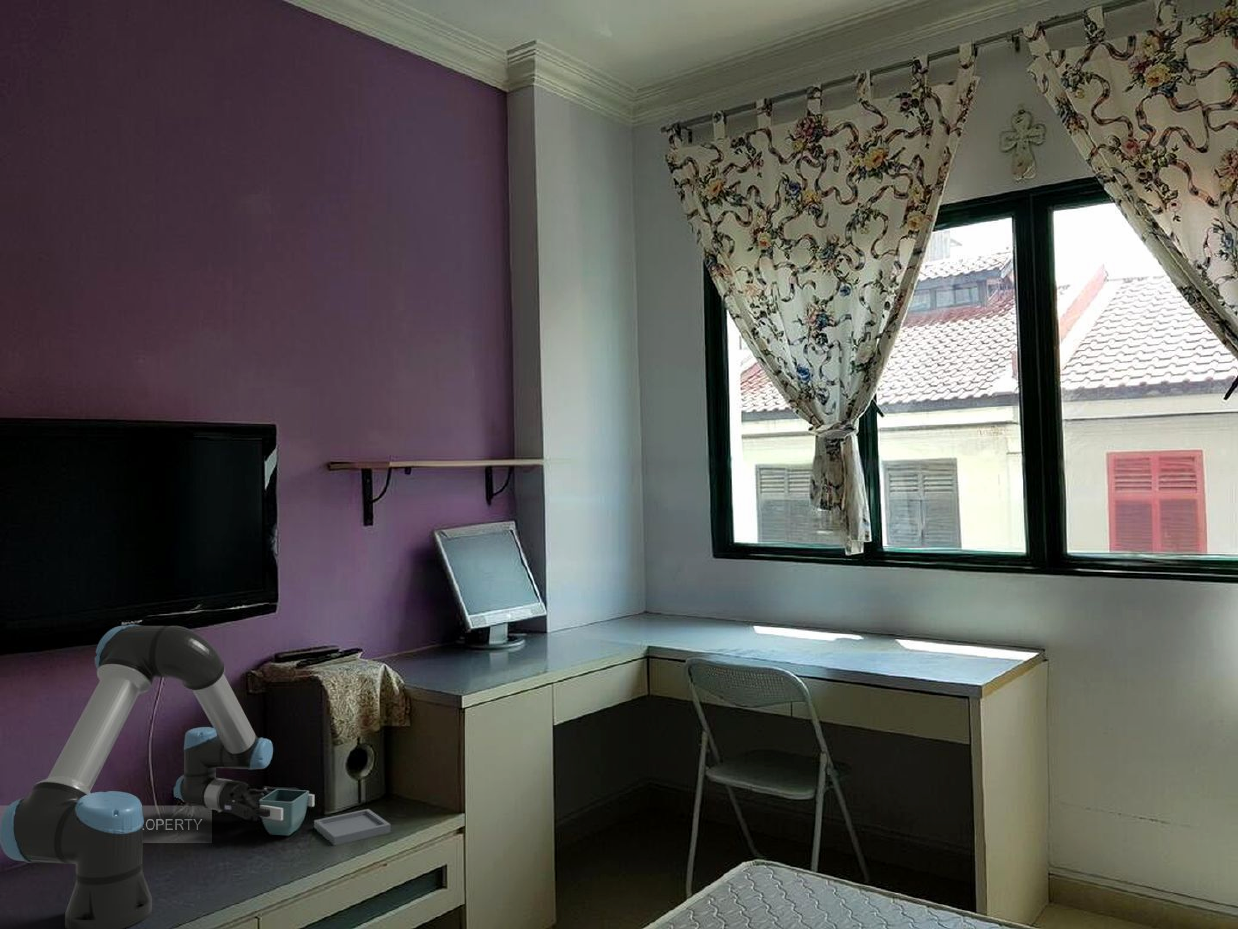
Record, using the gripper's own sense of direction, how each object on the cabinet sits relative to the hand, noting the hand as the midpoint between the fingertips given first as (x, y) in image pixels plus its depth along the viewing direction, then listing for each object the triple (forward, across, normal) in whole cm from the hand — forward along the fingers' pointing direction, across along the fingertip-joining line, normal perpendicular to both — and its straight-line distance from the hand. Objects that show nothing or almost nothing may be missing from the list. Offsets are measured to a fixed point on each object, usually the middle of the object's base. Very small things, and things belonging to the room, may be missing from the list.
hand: (298, 807), depth 234 cm
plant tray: (+10, -8, -7) cm, 14 cm away
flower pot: (-4, 0, -7) cm, 8 cm away
